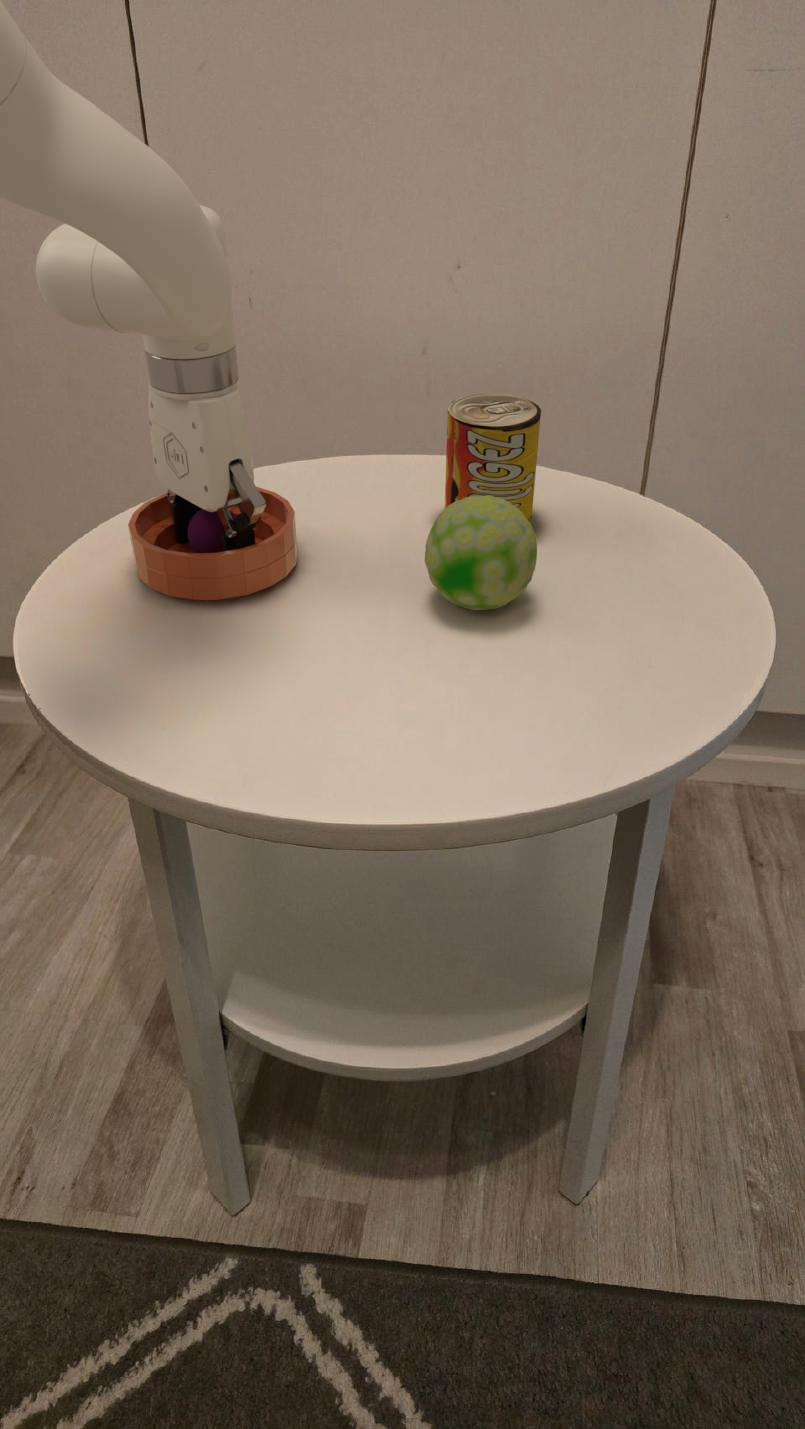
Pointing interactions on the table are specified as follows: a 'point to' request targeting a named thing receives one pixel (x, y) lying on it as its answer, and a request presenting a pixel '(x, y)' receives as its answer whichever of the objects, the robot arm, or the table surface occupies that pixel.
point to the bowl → (213, 572)
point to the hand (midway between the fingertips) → (216, 553)
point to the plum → (206, 532)
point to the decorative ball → (481, 552)
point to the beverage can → (492, 449)
